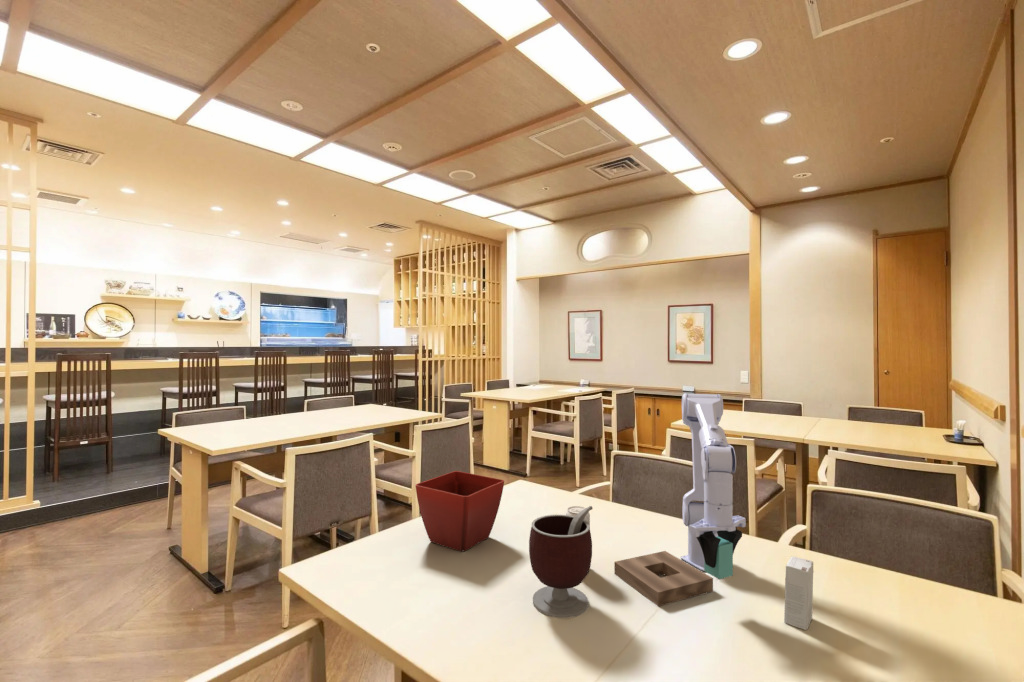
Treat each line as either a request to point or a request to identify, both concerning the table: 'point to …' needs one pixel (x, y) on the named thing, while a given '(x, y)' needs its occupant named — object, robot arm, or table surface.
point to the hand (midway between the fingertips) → (718, 563)
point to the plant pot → (459, 508)
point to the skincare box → (798, 592)
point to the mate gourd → (560, 562)
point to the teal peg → (722, 560)
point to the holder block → (668, 589)
